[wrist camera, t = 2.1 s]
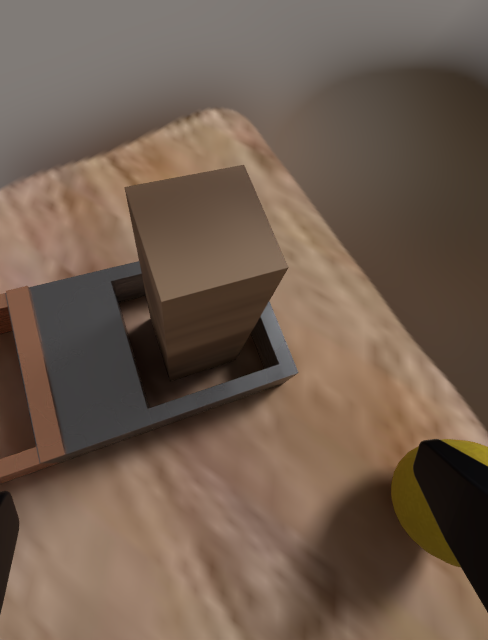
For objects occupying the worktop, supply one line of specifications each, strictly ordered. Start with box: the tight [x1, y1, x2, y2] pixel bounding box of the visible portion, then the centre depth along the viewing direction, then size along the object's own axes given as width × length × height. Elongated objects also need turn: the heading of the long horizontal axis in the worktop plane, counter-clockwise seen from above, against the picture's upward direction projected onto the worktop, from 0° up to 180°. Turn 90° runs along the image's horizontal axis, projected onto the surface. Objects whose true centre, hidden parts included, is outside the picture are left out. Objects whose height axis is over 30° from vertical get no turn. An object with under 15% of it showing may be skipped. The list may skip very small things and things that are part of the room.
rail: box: [0, 261, 298, 484], centre depth 20 cm, size 8×21×3 cm, turn 110°
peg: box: [125, 165, 288, 381], centre depth 17 cm, size 4×4×12 cm
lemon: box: [391, 439, 488, 567], centre depth 18 cm, size 6×6×8 cm
